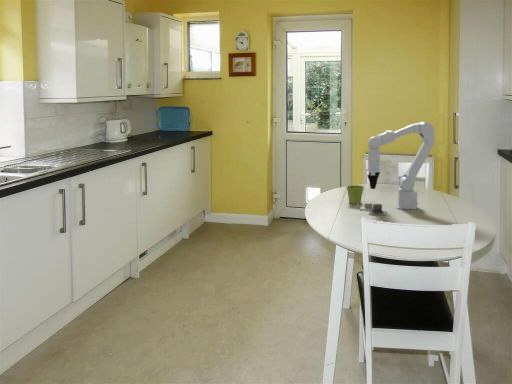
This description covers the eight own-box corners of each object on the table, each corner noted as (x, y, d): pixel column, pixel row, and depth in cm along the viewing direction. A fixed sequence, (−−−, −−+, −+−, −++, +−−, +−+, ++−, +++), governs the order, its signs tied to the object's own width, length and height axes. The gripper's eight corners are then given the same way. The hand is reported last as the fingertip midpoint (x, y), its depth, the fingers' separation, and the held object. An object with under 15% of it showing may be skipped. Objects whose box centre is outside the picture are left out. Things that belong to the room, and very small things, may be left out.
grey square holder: (377, 207, 285) (377, 201, 285) (376, 210, 278) (376, 204, 277) (361, 206, 287) (361, 200, 287) (359, 210, 280) (359, 204, 279)
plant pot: (363, 204, 292) (364, 188, 290) (345, 204, 293) (345, 188, 292) (364, 201, 301) (364, 185, 299) (346, 200, 302) (346, 185, 301)
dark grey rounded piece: (383, 213, 270) (383, 205, 270) (375, 213, 269) (375, 205, 269) (378, 210, 276) (378, 203, 275) (370, 211, 275) (370, 203, 274)
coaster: (386, 212, 275) (386, 211, 274) (385, 215, 267) (385, 214, 267) (369, 211, 277) (369, 210, 277) (368, 214, 269) (368, 213, 269)
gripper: (366, 158, 288) (366, 184, 291) (364, 162, 275) (364, 189, 277) (380, 159, 286) (380, 185, 289) (379, 162, 273) (378, 190, 275)
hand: (373, 187), depth 283 cm, fingers open, 7 cm apart
